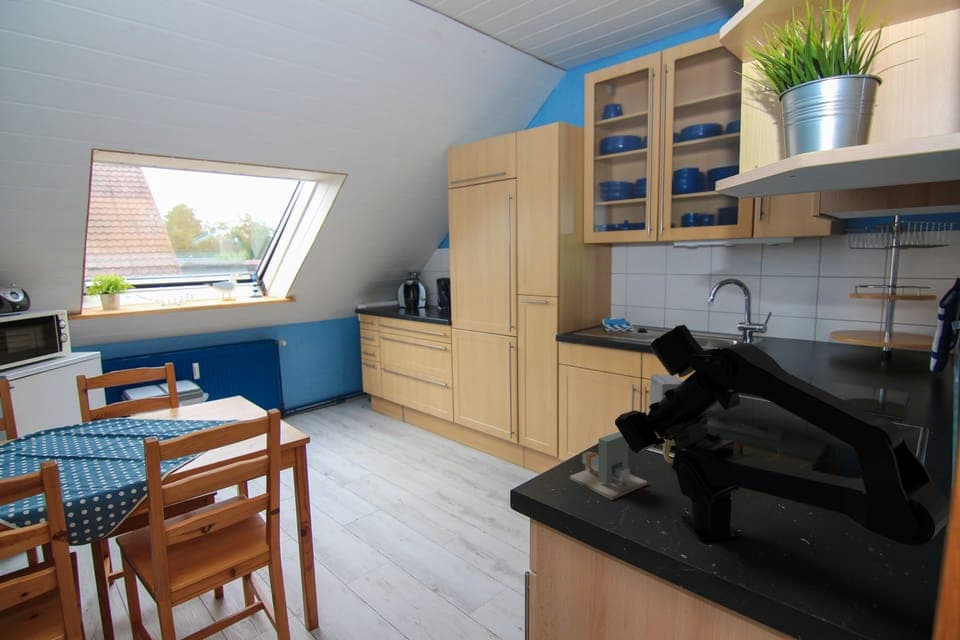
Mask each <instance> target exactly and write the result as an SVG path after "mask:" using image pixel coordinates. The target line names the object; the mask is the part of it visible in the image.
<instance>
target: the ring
mask: <svg viewBox="0 0 960 640" xmlns="http://www.w3.org/2000/svg"><path fill="white" fill-rule="evenodd" d="M664 440H665V443H664V444H663V446H662V454H663V458H664V460H665V461H666V462H667V463H670V464H671V465H674V464H673V458H672V459H671V457H670V451H671V448H672V447H673V446H672V444H673V443H674V439H673V440H670V441H669V440H667V439H664ZM668 441H669V442H668Z"/></svg>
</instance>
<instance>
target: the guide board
mask: <svg viewBox="0 0 960 640" xmlns="http://www.w3.org/2000/svg"><path fill="white" fill-rule="evenodd" d="M569 480H571V481H573V482H575V483H577V484H579V485H580V486H583V487H585V488H587V489H588V490H591V491H593V492H595V493H597V494H599V495H601V496H603V497H605V498H607V499H609V500H612V501H613V500H616V499H617V498H619V497H621V496H624V495H626V494H628V493H631V492H633V491H635V490H638V489H640V488H642V487H644V486H647V485H648V481H647V480H645V479H642V478H641V477H638V476H636V475H633V474H631V473H629V479H628V480H627V486H626V487H621V486H619V485H618V479H616V478H614V477H612V482H611V483H609V484H605V483H602V482H600V481H598V470H596V469H594V471H591V472H589V471H586V470H582V471H580V472H577V473H574V474H572V475H570V476H569Z"/></svg>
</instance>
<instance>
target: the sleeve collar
mask: <svg viewBox="0 0 960 640" xmlns="http://www.w3.org/2000/svg"><path fill="white" fill-rule="evenodd" d="M617 463H618V464H621V465H623V466H626V467H628V468H629V445H628V444H627V442H626V440H625V439H624V437H623V436H622V434H621V433H620V431H617V432H613V433H611V434H608V435H605V436H602V437H599V438H598V481H600V482H602V483H605V484H609V483H611V482H612V465H615V464H617Z"/></svg>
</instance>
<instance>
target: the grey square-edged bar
mask: <svg viewBox="0 0 960 640" xmlns="http://www.w3.org/2000/svg"><path fill="white" fill-rule="evenodd" d="M598 454H599V452H595V451H593V452H592V451H587V452H584V453H582V454H581V455H582V457H581V459H582V461H581V463H582V464H583V465H585V468H584V469H585V470H586V471H589V472H591V471H594V469H596V470H598ZM585 470H584V471H585ZM629 474H630V468H629V466H628V467H626V466H623V465H621V464H618V463H617V464H615V465H612V477H614V478H616V479H618V485H619V486H621V487H626V486H627V480H628V479H629Z"/></svg>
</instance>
